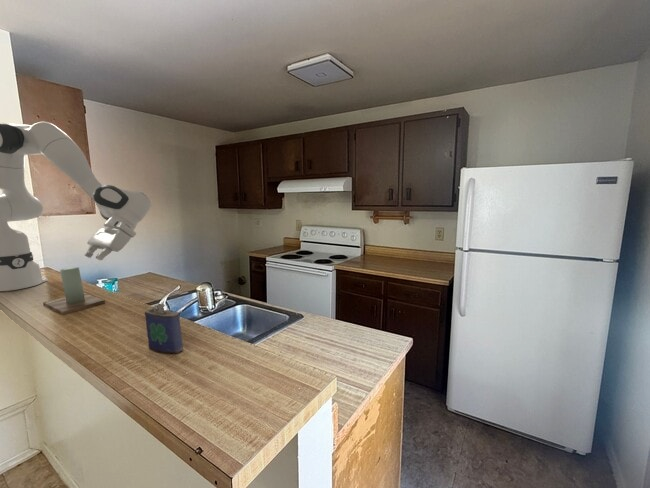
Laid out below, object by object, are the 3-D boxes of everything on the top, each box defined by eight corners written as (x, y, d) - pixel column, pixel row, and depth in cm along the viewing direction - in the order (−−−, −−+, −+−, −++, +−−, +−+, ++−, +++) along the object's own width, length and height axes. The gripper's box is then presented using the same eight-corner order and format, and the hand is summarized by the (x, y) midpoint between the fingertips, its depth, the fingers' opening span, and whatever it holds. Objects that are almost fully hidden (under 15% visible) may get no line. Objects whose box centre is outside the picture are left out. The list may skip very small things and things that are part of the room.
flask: (186, 349, 74) (180, 304, 72) (175, 356, 71) (169, 309, 69) (155, 343, 78) (149, 300, 76) (144, 350, 75) (137, 304, 73)
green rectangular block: (64, 303, 107) (57, 269, 105) (81, 298, 111) (75, 266, 109) (70, 305, 104) (63, 271, 102) (87, 300, 108) (81, 267, 106)
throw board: (43, 305, 109) (42, 301, 109) (83, 294, 119) (83, 292, 119) (62, 314, 99) (62, 311, 99) (104, 302, 109) (104, 299, 109)
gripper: (98, 221, 121) (72, 250, 114) (124, 223, 110) (96, 255, 103) (113, 231, 125) (88, 260, 119) (138, 234, 114) (113, 265, 108)
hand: (92, 258), depth 111 cm, fingers open, 8 cm apart
